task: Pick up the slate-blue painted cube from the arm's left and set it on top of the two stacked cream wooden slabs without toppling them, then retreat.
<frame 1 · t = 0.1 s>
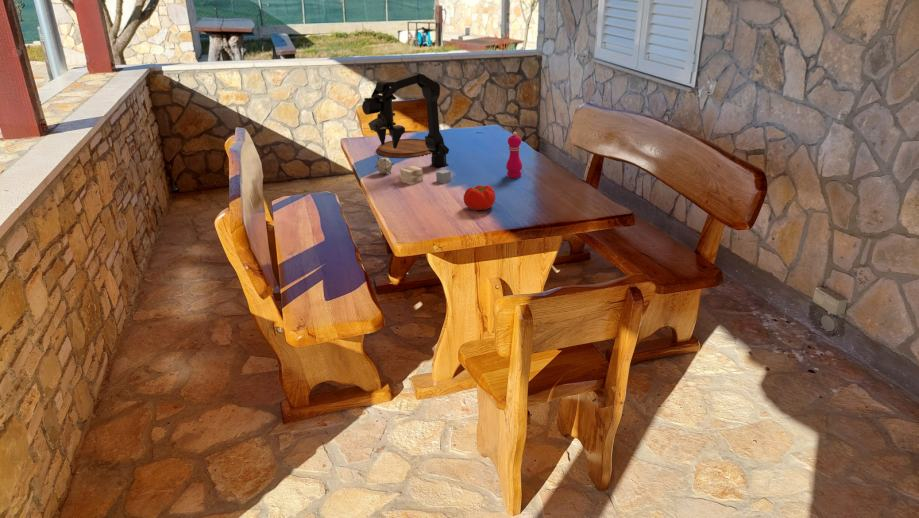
hand: (388, 146, 278), 15 cm above the table, fingers open, 9 cm apart
spiky ball: (384, 174, 291), on the table
cutting board: (407, 150, 330), on the table
cube: (443, 181, 279), on the table
slab upper: (411, 175, 279), point 3 cm above the table, touching slab lower
pepper mill: (514, 176, 283), on the table
tomato: (480, 208, 247), on the table
slab lower: (411, 182, 280), on the table, touching slab upper
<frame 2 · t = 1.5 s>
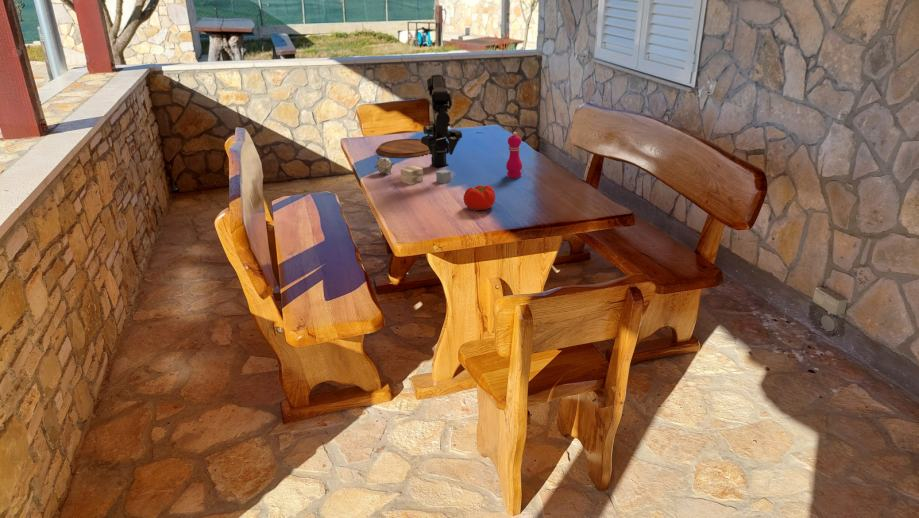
hand: (442, 156, 275), 11 cm above the table, fingers open, 9 cm apart
nothing on the table moved.
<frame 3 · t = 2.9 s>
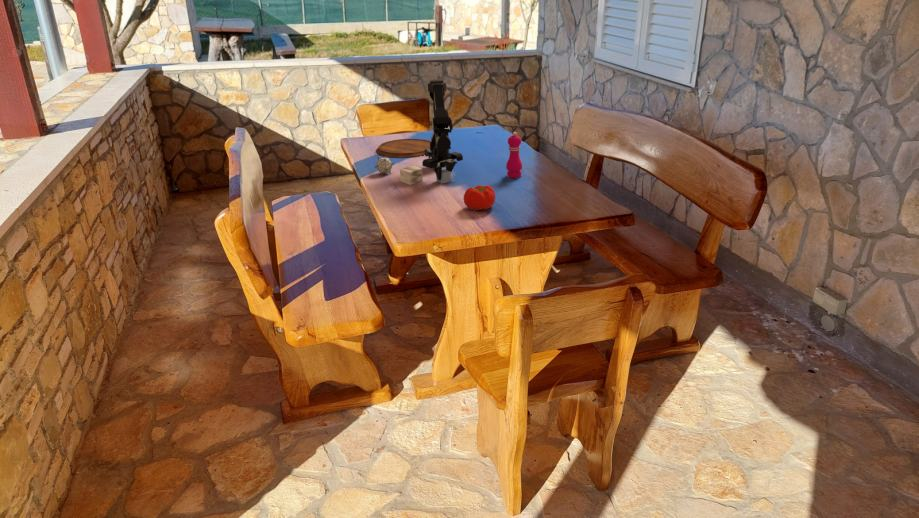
hand: (443, 178, 279), 1 cm above the table, fingers closed on cube, 4 cm apart
cube: (443, 181, 279), on the table, touching gripper
slab upper: (411, 175, 279), point 3 cm above the table
slab lower: (411, 182, 280), on the table
everything else where it was.
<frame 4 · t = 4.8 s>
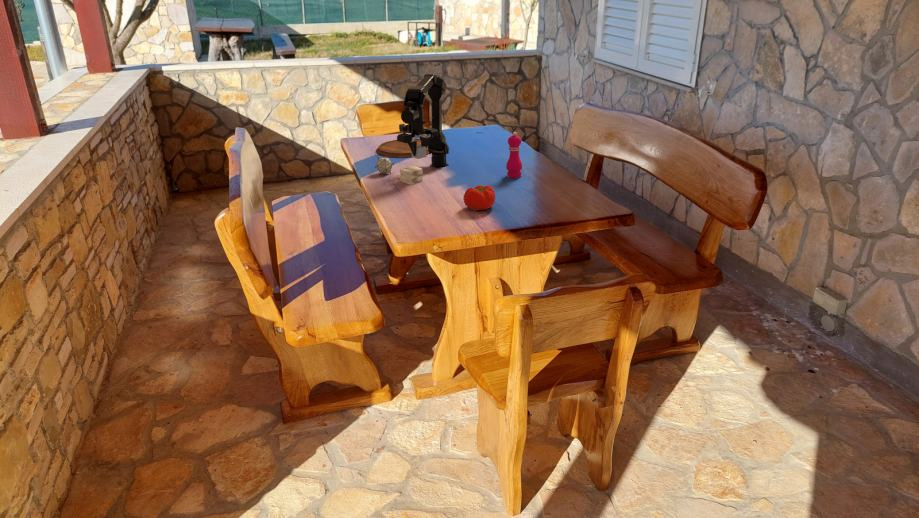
hand: (418, 154, 275), 12 cm above the table, fingers closed on cube, 4 cm apart
cube: (419, 157, 275), point 11 cm above the table, touching gripper
slab upper: (411, 175, 279), point 3 cm above the table, touching slab lower
slab lower: (411, 182, 280), on the table, touching slab upper
everything else where it was.
when the fingers open (8 cm above the table, at t = 6.1 s): cube drops 2 cm, resting on slab upper.
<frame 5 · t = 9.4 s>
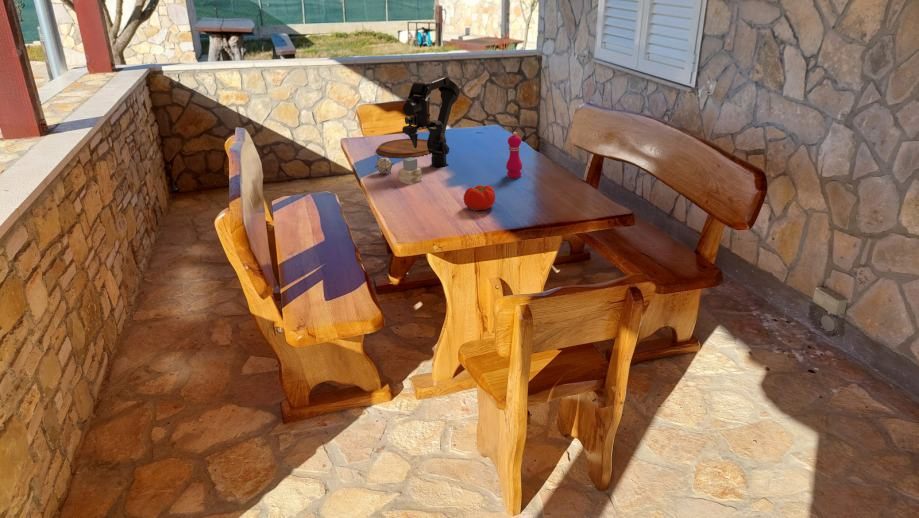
hand: (423, 146, 286), 13 cm above the table, fingers open, 9 cm apart
cube: (410, 168, 278), point 6 cm above the table, touching slab upper
slab upper: (410, 175, 279), point 3 cm above the table, touching cube, slab lower
everything else where it was.
at the end: cube 0.4 cm off-centre on the slab upper, point 3.0 cm above the slab upper's base; slab upper 0.0 cm off-centre on the slab lower, point 3.0 cm above the slab lower's base; cube tilted 0° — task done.
